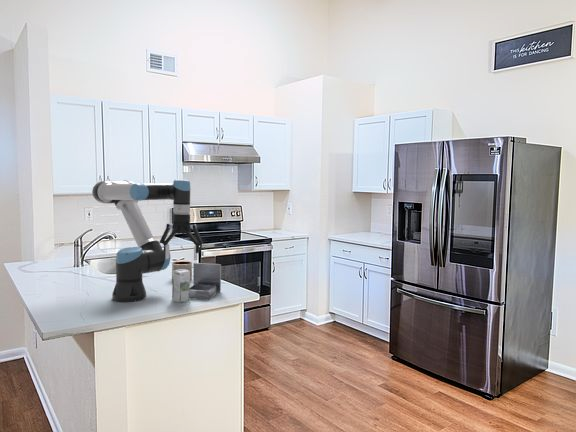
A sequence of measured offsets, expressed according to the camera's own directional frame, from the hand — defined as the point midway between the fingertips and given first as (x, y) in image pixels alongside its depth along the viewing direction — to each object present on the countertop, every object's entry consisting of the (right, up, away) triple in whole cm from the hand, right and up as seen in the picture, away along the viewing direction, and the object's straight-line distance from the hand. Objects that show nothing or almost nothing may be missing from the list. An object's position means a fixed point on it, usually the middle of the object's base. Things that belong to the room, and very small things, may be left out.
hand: (181, 259), depth 211 cm
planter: (-10, -16, +43) cm, 47 cm away
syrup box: (-1, -20, +2) cm, 20 cm away
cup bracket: (+7, -19, +14) cm, 24 cm away
